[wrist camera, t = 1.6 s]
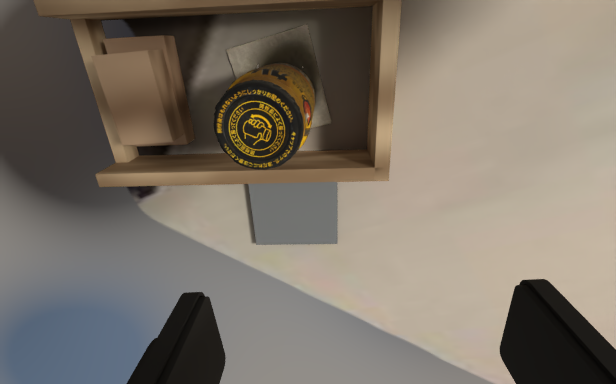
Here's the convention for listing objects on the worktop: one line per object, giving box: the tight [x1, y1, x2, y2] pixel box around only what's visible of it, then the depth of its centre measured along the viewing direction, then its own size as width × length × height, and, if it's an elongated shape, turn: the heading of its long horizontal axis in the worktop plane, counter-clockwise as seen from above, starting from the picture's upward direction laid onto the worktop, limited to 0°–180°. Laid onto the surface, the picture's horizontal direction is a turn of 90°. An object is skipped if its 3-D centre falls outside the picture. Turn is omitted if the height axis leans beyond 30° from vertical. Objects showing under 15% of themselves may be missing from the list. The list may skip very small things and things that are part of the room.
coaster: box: [248, 182, 337, 245], centre depth 33 cm, size 9×9×1 cm
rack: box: [33, 0, 402, 187], centre depth 26 cm, size 14×25×5 cm, turn 92°
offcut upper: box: [91, 50, 184, 146], centre depth 26 cm, size 7×4×2 cm, turn 5°
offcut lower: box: [103, 35, 195, 146], centre depth 28 cm, size 9×5×2 cm, turn 3°
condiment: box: [214, 24, 331, 170], centre depth 23 cm, size 7×8×12 cm
